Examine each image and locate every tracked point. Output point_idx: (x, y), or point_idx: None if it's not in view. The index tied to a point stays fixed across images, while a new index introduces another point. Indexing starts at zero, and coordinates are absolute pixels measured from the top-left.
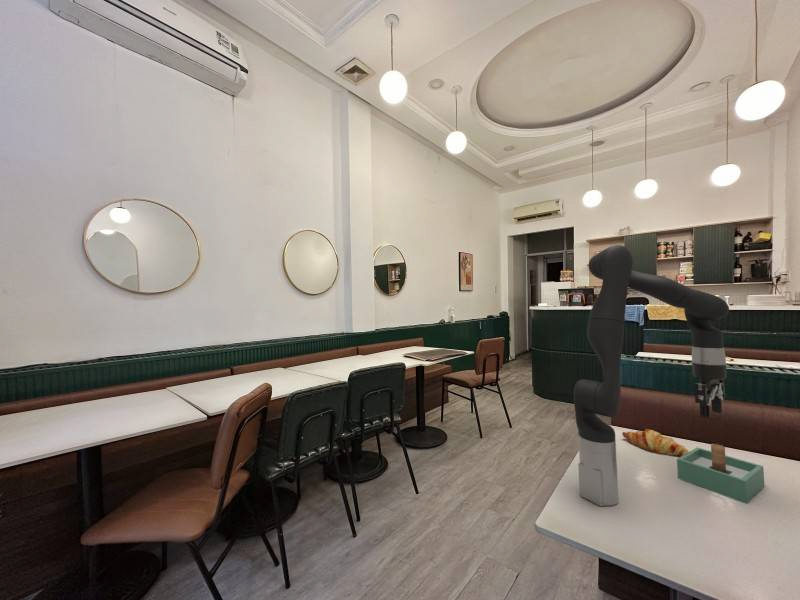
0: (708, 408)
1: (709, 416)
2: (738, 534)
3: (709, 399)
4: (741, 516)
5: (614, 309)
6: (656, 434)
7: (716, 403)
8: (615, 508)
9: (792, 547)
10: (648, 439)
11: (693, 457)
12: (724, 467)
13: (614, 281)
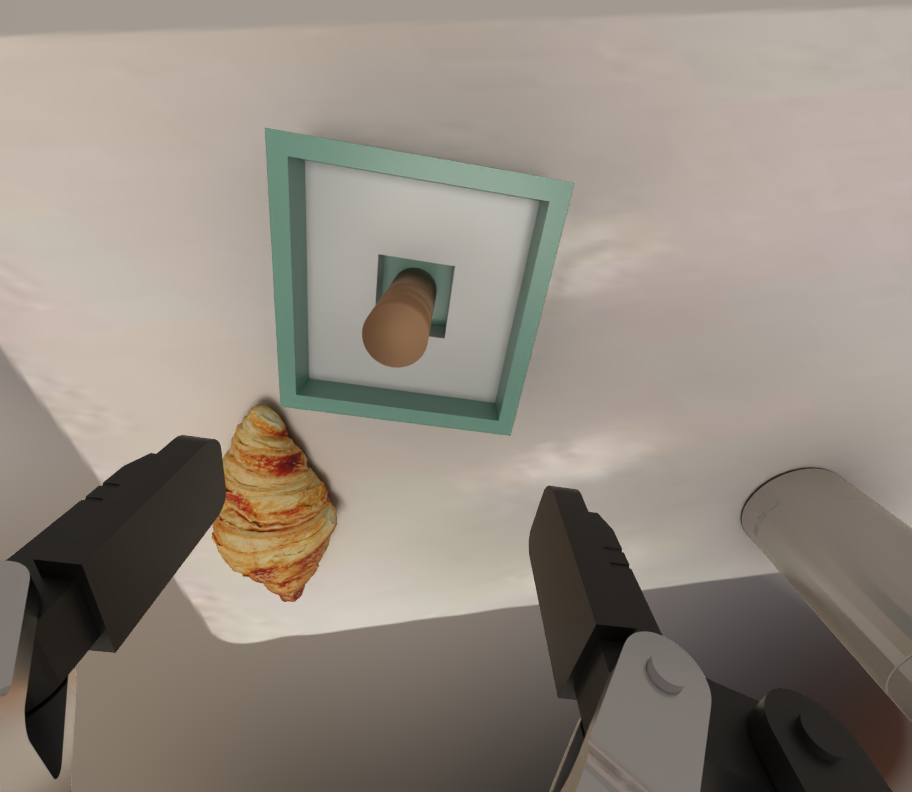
0: (620, 594)
1: (580, 499)
2: (827, 181)
3: (687, 785)
4: (677, 188)
5: None
6: (264, 539)
7: (138, 564)
8: (841, 463)
9: (831, 12)
10: (318, 540)
11: (382, 395)
12: (420, 283)
13: None
